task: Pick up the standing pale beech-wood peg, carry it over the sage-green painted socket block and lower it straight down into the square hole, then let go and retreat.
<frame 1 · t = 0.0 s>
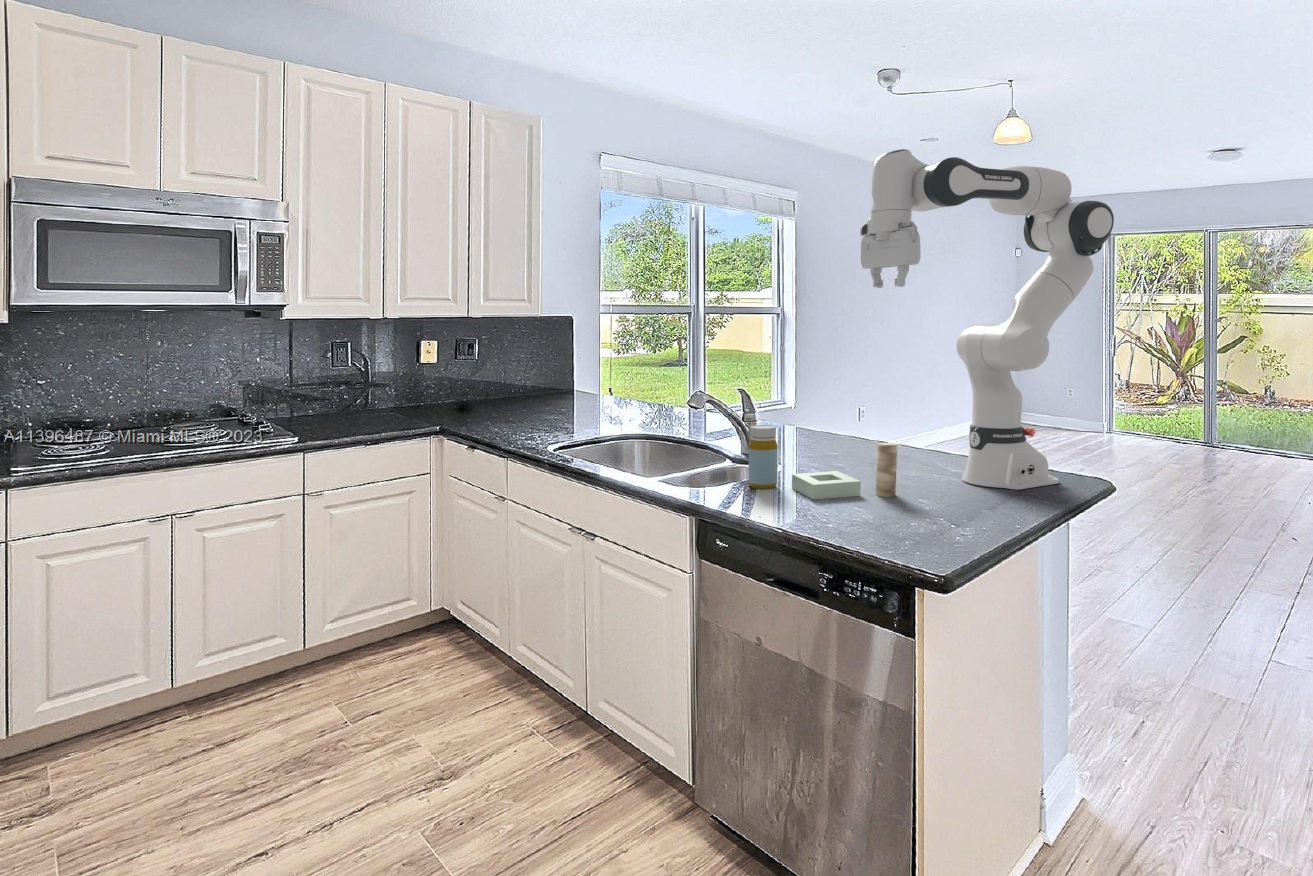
hand: (888, 287, 179), 48 cm above the countertop, fingers open, 8 cm apart
bottle: (762, 487, 193), on the countertop
peg: (885, 494, 183), on the countertop
socket: (825, 491, 187), on the countertop
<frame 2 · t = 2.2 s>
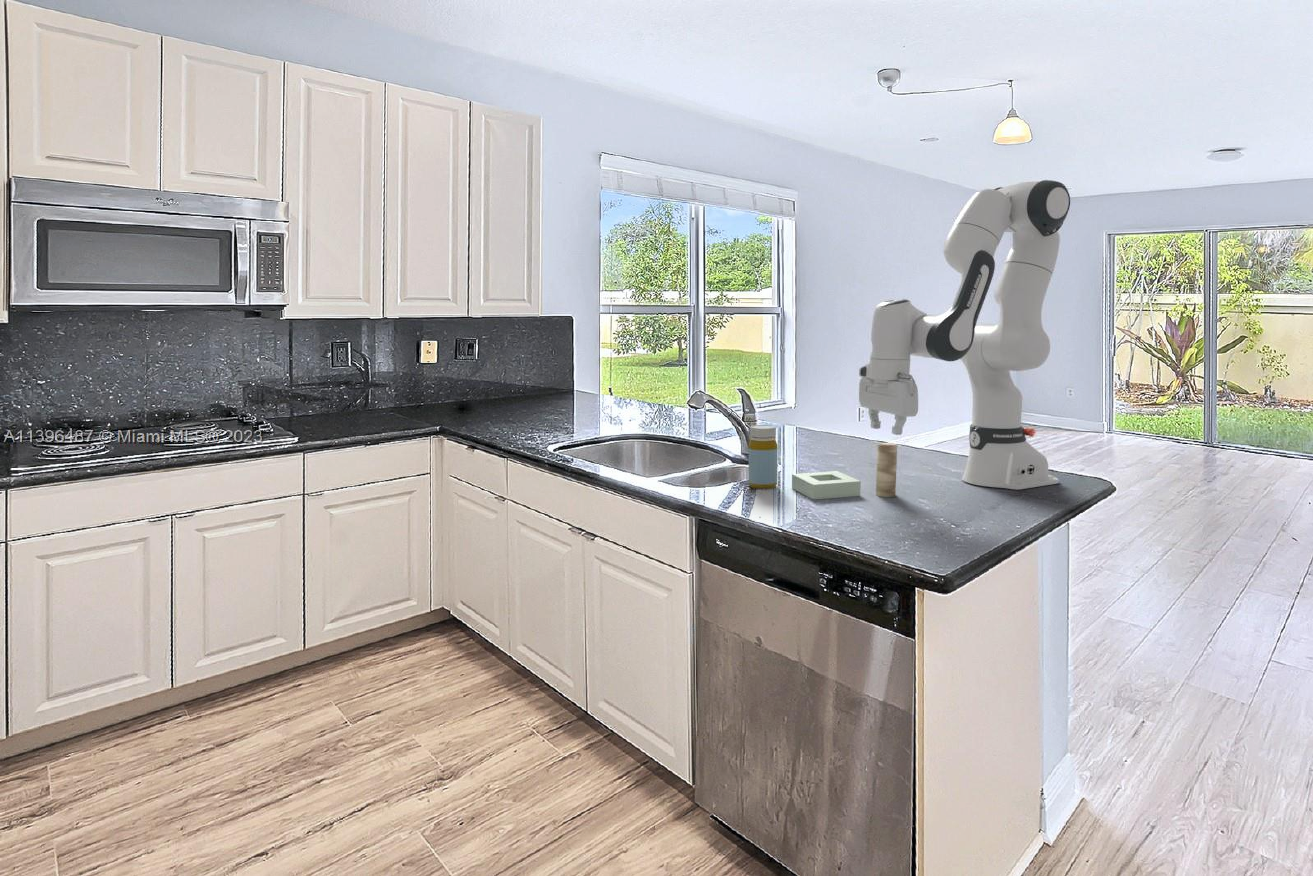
hand: (885, 431, 180), 15 cm above the countertop, fingers open, 8 cm apart
nothing on the countertop moved.
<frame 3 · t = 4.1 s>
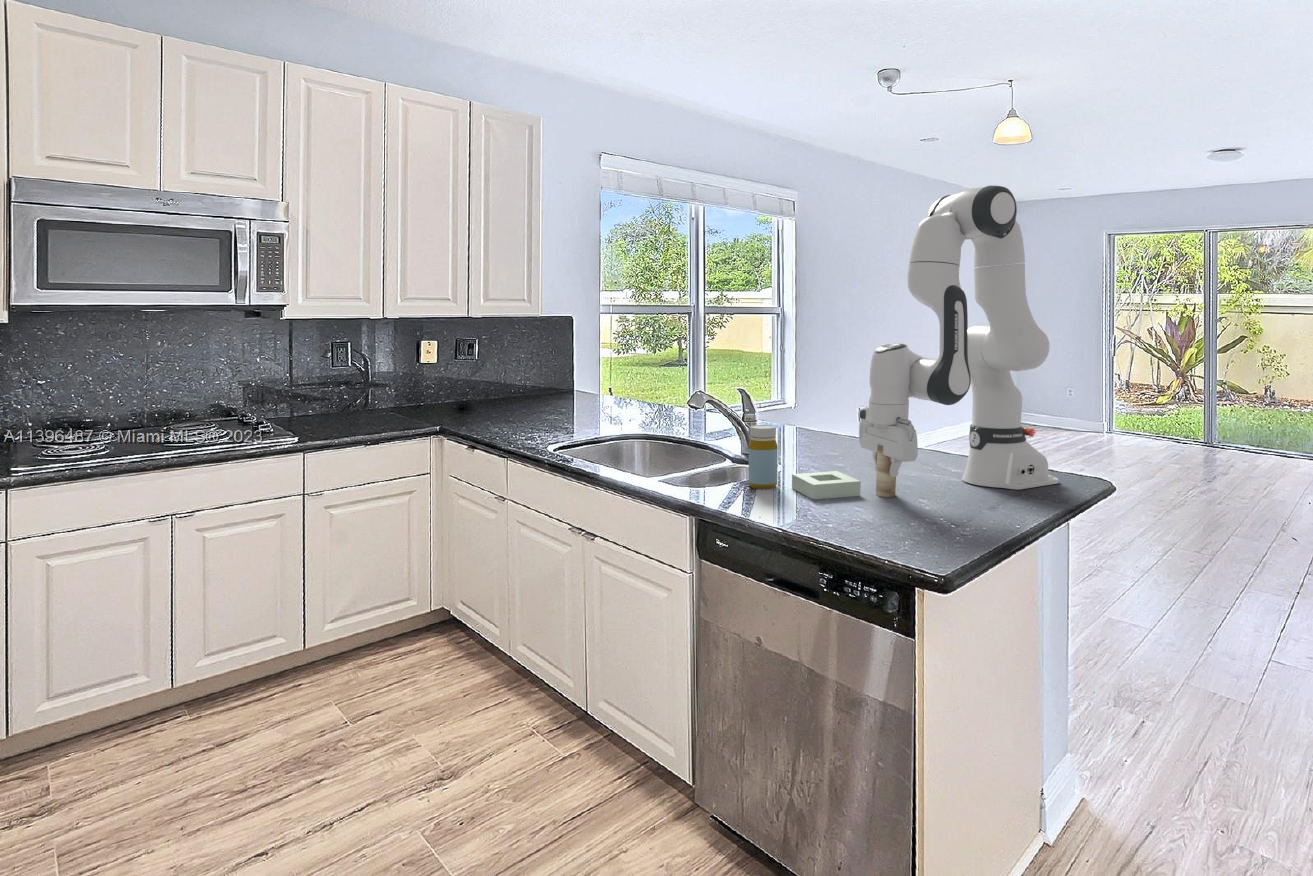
hand: (886, 473, 182), 5 cm above the countertop, fingers closed on peg, 4 cm apart
peg: (885, 494, 183), on the countertop, touching gripper
everything else where it was.
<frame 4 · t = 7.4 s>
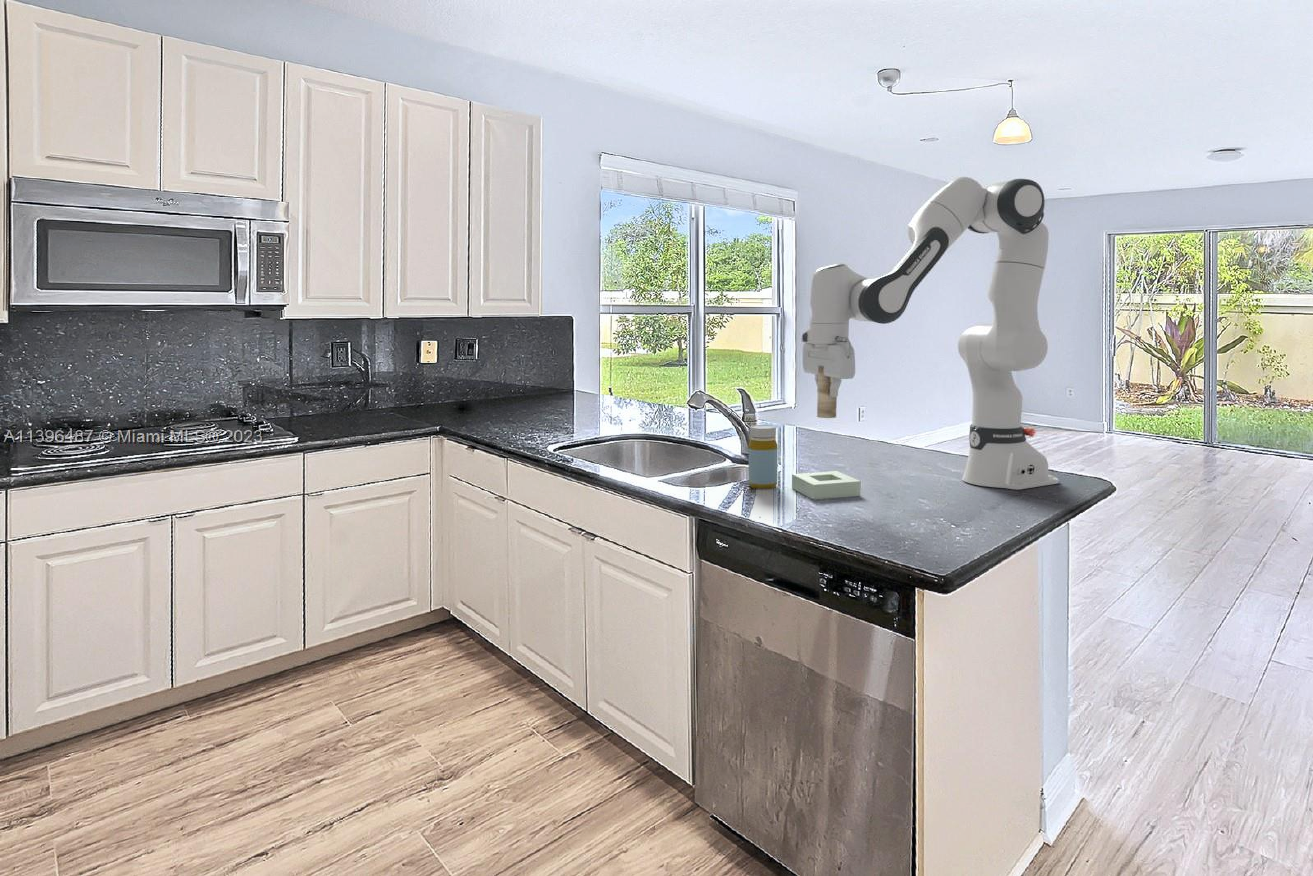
hand: (827, 395, 183), 23 cm above the countertop, fingers closed on peg, 4 cm apart
peg: (826, 416, 183), point 18 cm above the countertop, touching gripper
everything else where it was.
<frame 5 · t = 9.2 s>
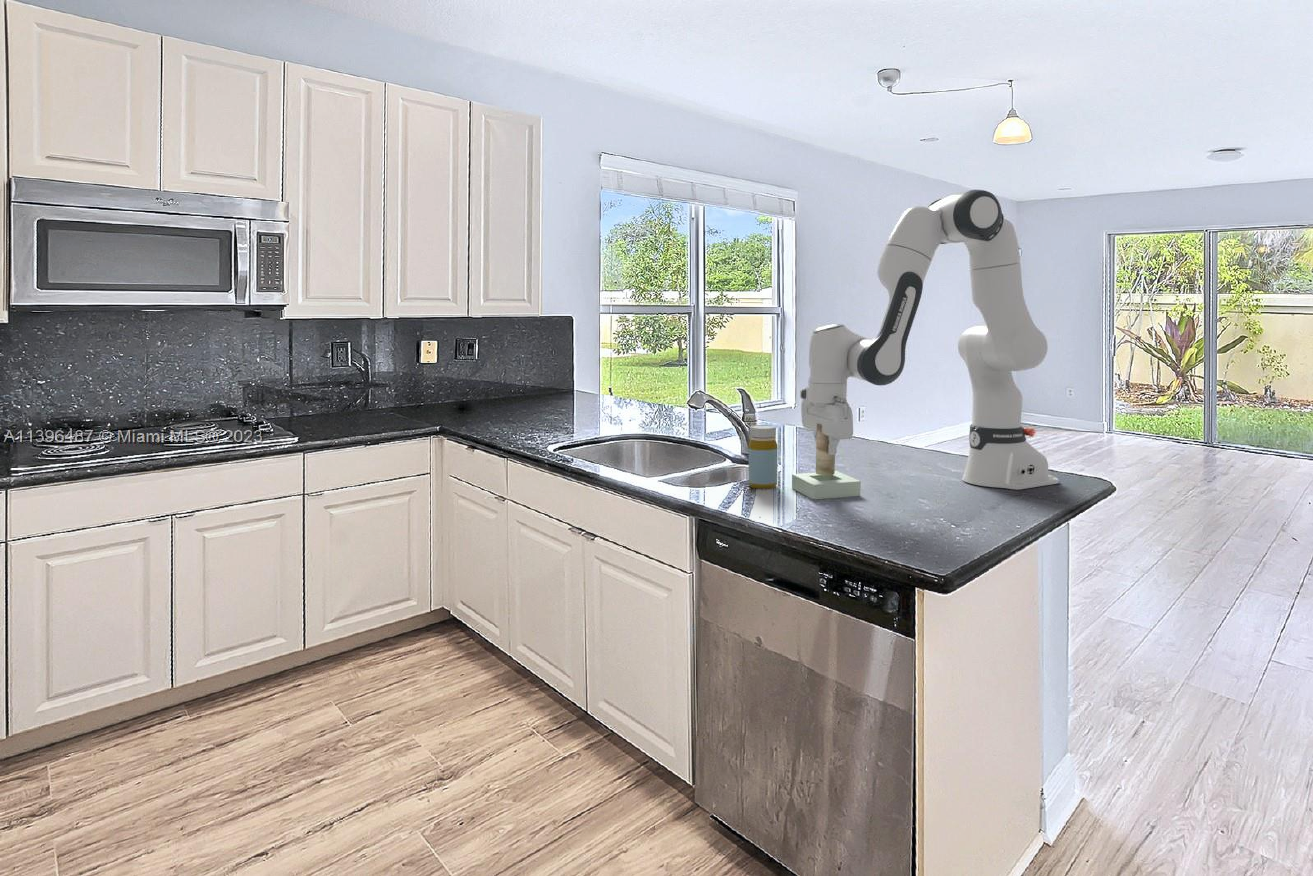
hand: (825, 452, 185), 10 cm above the countertop, fingers closed on peg, 4 cm apart
peg: (825, 473, 186), point 5 cm above the countertop, touching gripper
everything else where it was.
when the fingers open (6 cm above the countertop, at t = 10.6 s): peg stays where it is, resting in socket.
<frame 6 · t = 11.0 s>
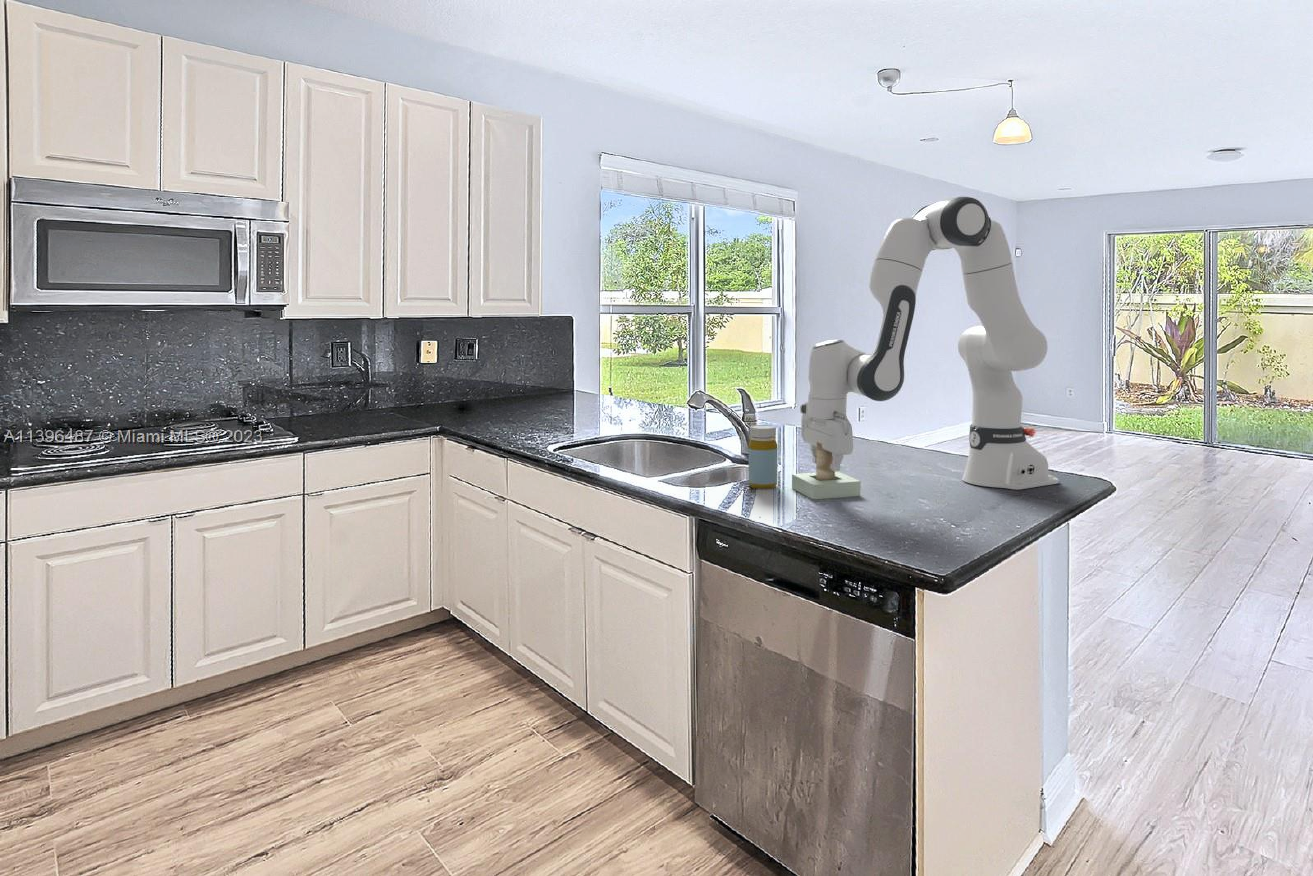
hand: (825, 467, 186), 6 cm above the countertop, fingers open, 8 cm apart
peg: (825, 491, 187), resting in socket
everything else where it was.
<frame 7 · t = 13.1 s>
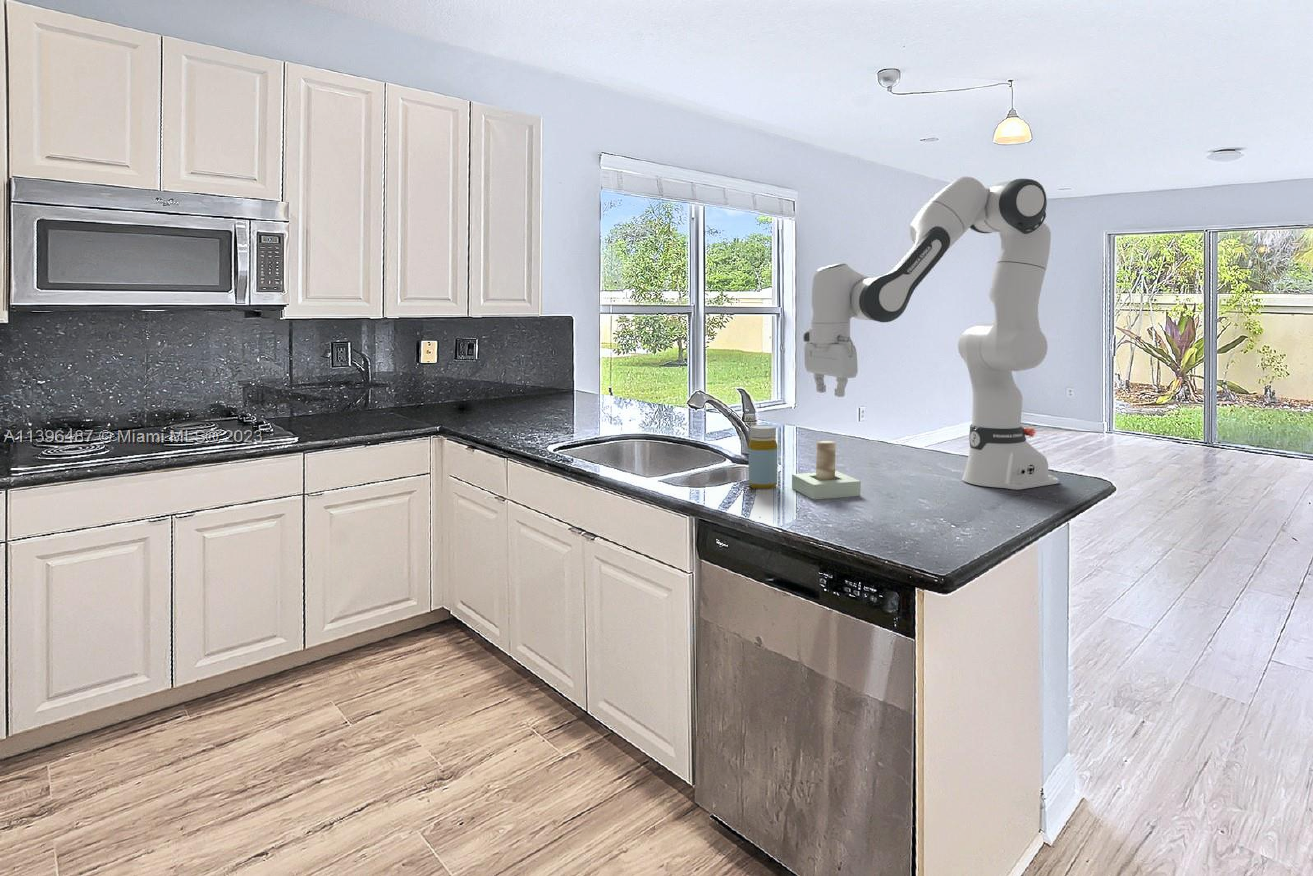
hand: (830, 394, 183), 23 cm above the countertop, fingers open, 8 cm apart
nothing on the countertop moved.
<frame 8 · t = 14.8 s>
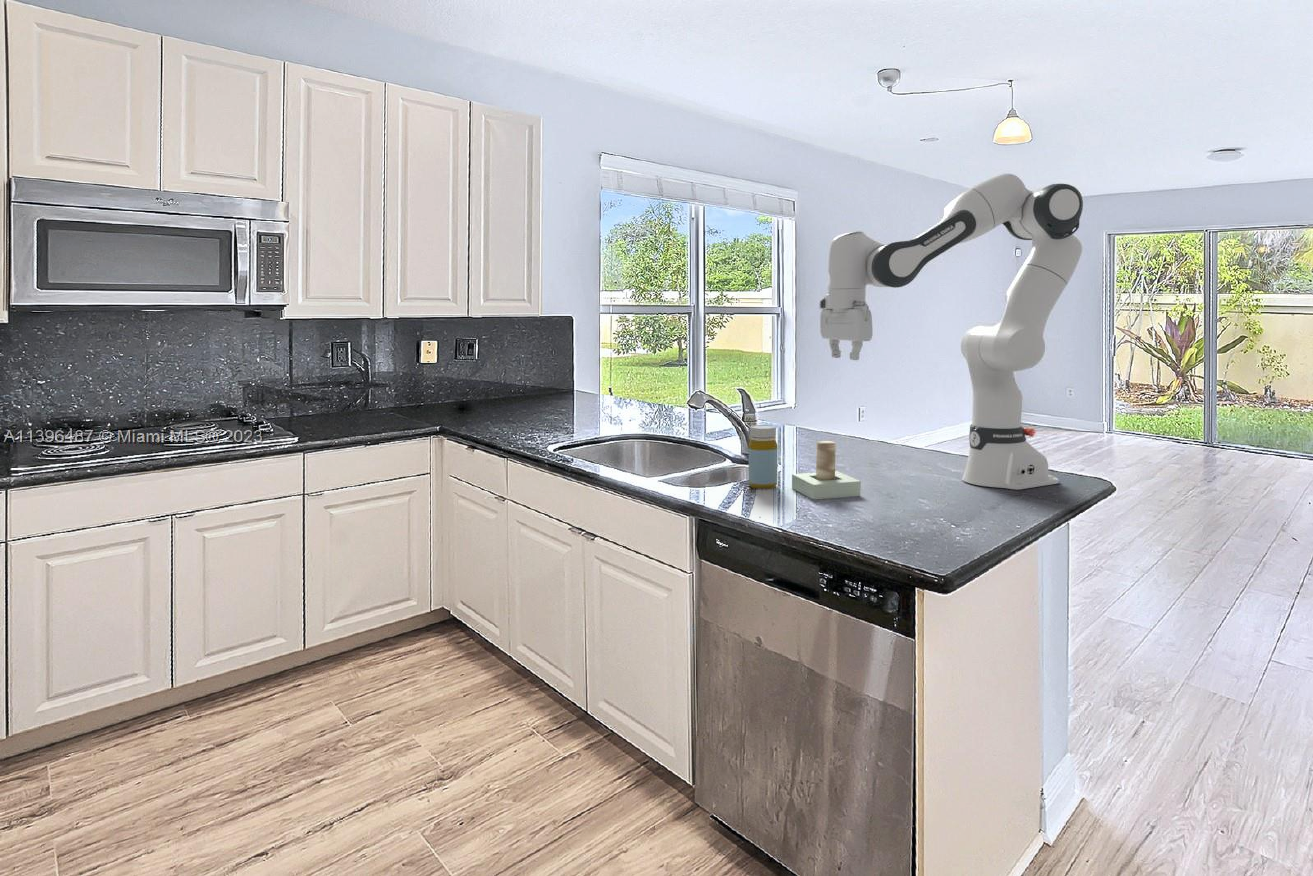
hand: (845, 358, 190), 31 cm above the countertop, fingers open, 8 cm apart
nothing on the countertop moved.
at the end: peg 0.0 cm off-centre on the socket, point 0.0 cm above the socket's base; peg tilted 0°; the gripper is holding nothing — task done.
